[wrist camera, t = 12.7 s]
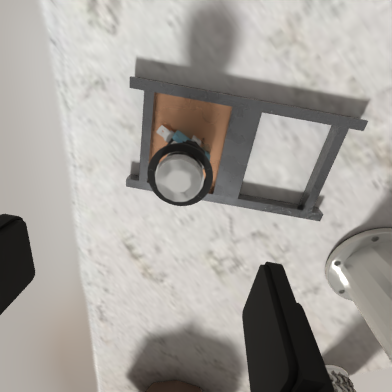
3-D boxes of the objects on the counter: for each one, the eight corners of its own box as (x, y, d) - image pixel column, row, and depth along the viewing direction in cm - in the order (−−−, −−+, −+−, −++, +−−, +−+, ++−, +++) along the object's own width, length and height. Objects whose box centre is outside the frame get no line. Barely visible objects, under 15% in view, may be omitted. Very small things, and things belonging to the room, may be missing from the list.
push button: (148, 144, 27) (116, 176, 18) (175, 105, 25) (153, 120, 16) (194, 178, 29) (185, 223, 20) (222, 144, 27) (227, 176, 18)
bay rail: (359, 118, 25) (368, 120, 23) (315, 214, 30) (319, 221, 29) (134, 76, 24) (130, 76, 23) (130, 181, 30) (126, 186, 28)
